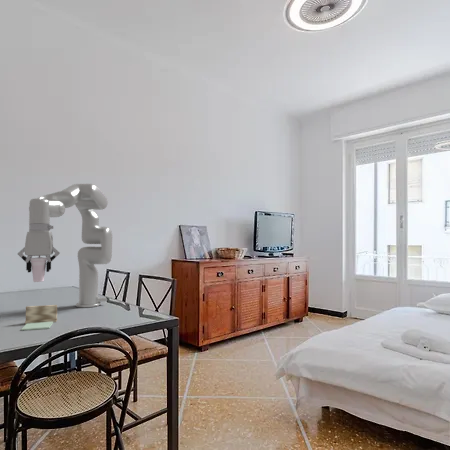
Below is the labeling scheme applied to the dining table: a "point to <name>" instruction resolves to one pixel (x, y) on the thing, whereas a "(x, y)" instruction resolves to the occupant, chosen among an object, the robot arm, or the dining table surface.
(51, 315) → the screen
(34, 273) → the smoothie
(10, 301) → the dining table surface
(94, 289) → the robot arm
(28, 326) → the mat
